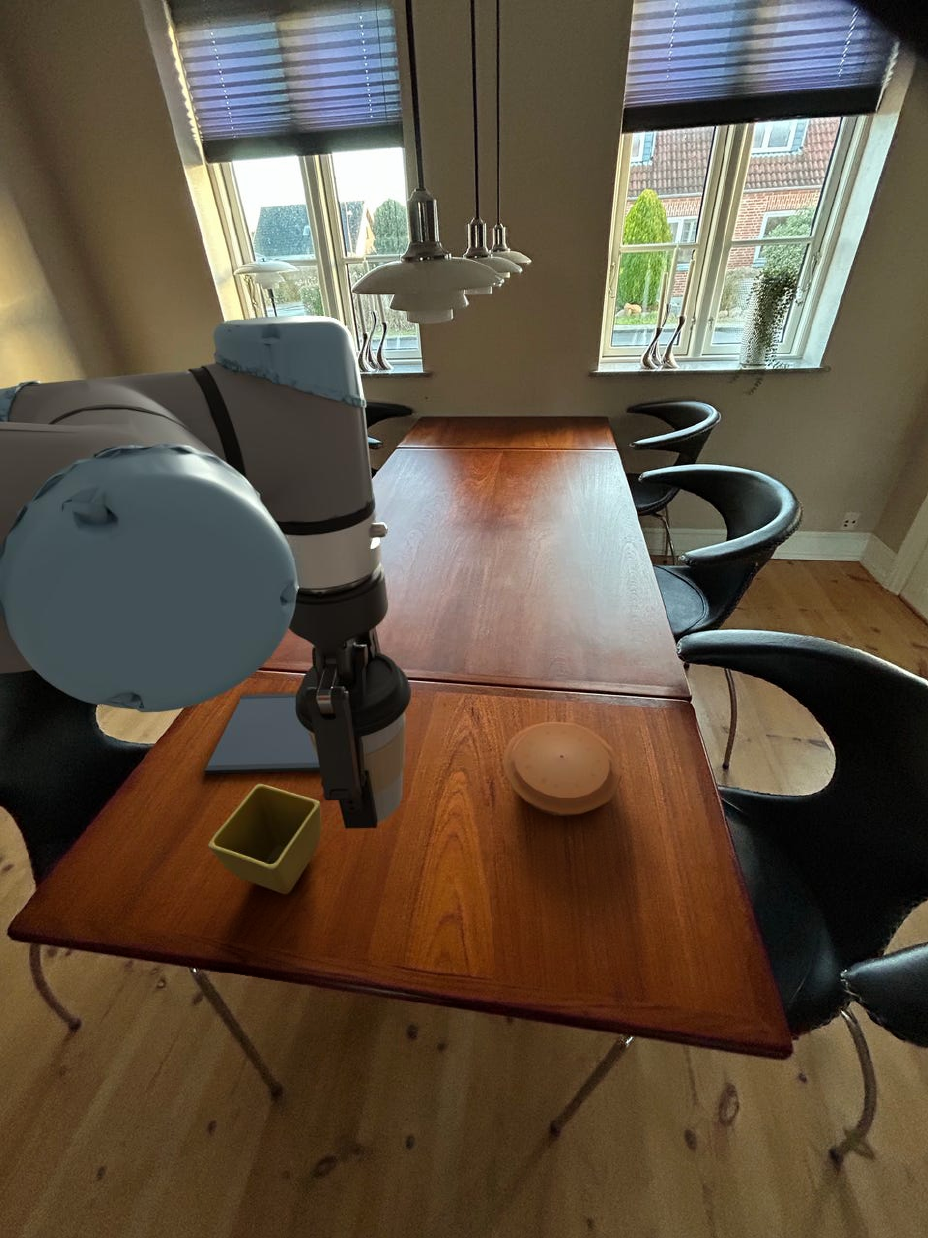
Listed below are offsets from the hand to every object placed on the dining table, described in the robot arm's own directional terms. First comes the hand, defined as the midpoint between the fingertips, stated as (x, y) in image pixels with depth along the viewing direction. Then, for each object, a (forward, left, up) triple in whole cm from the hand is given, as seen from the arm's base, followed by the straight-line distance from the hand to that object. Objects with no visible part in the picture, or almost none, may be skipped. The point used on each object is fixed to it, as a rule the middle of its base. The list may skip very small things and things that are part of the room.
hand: (369, 782), depth 50 cm
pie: (+21, +15, -19) cm, 32 cm away
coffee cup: (0, 0, -2) cm, 2 cm away
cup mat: (-19, +26, -19) cm, 37 cm away
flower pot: (-13, +3, -19) cm, 24 cm away
